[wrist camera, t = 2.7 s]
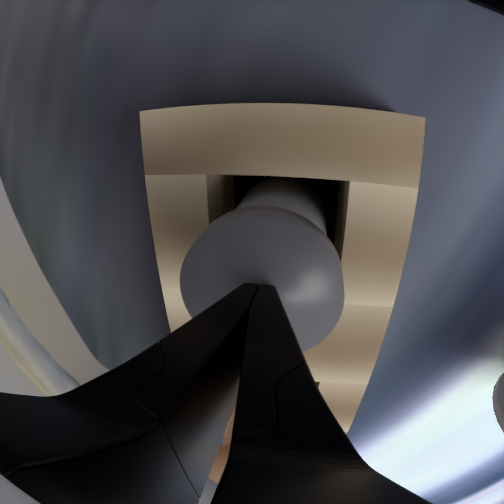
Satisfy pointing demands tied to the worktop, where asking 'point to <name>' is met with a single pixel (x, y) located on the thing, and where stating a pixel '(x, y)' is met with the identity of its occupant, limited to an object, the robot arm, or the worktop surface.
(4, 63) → the worktop surface
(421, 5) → the worktop surface
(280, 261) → the grey mushroom knob
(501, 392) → the cup
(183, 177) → the housing
